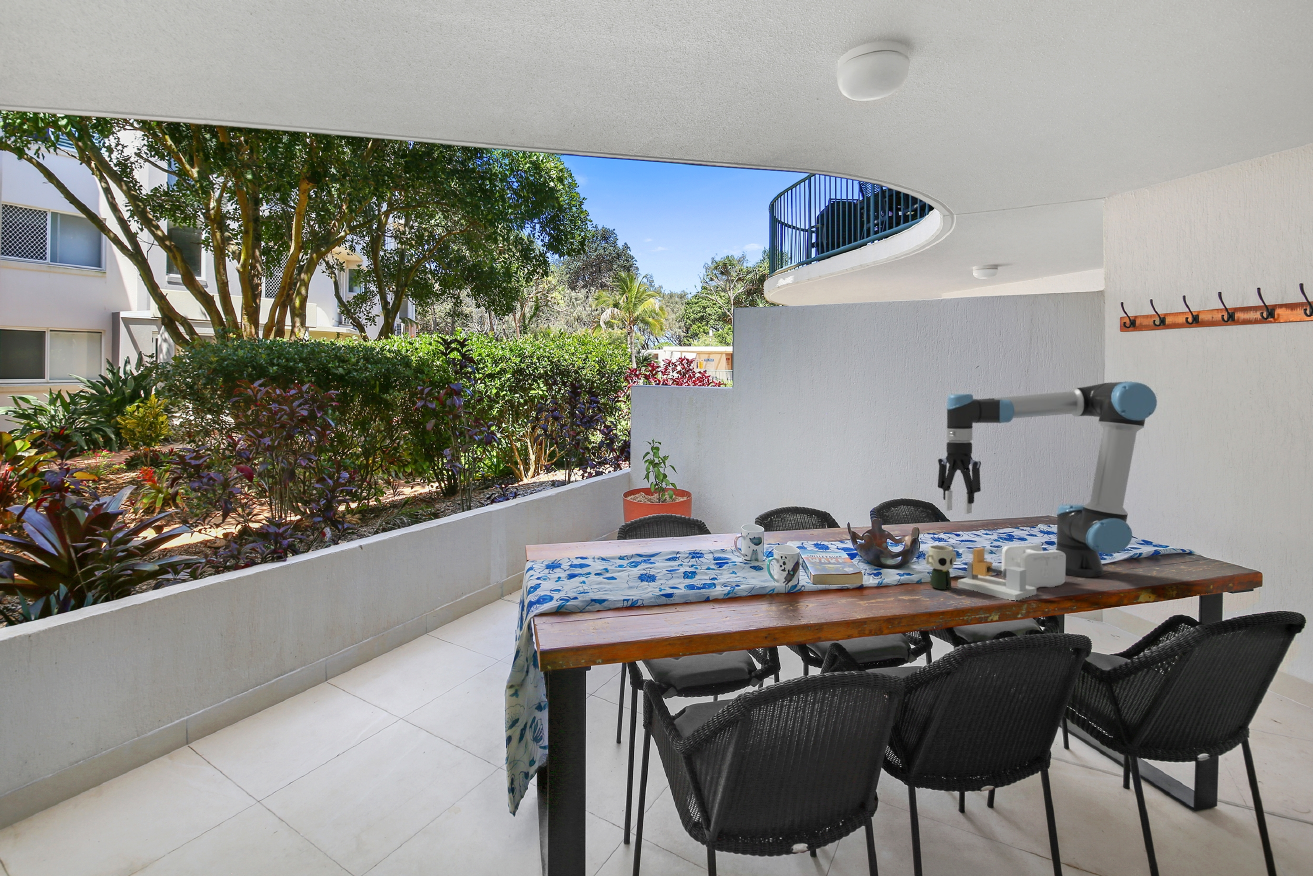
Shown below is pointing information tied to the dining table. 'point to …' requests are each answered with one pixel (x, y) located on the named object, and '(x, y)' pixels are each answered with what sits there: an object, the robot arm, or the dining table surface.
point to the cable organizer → (1036, 564)
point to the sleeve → (980, 563)
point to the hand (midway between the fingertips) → (958, 511)
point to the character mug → (940, 565)
